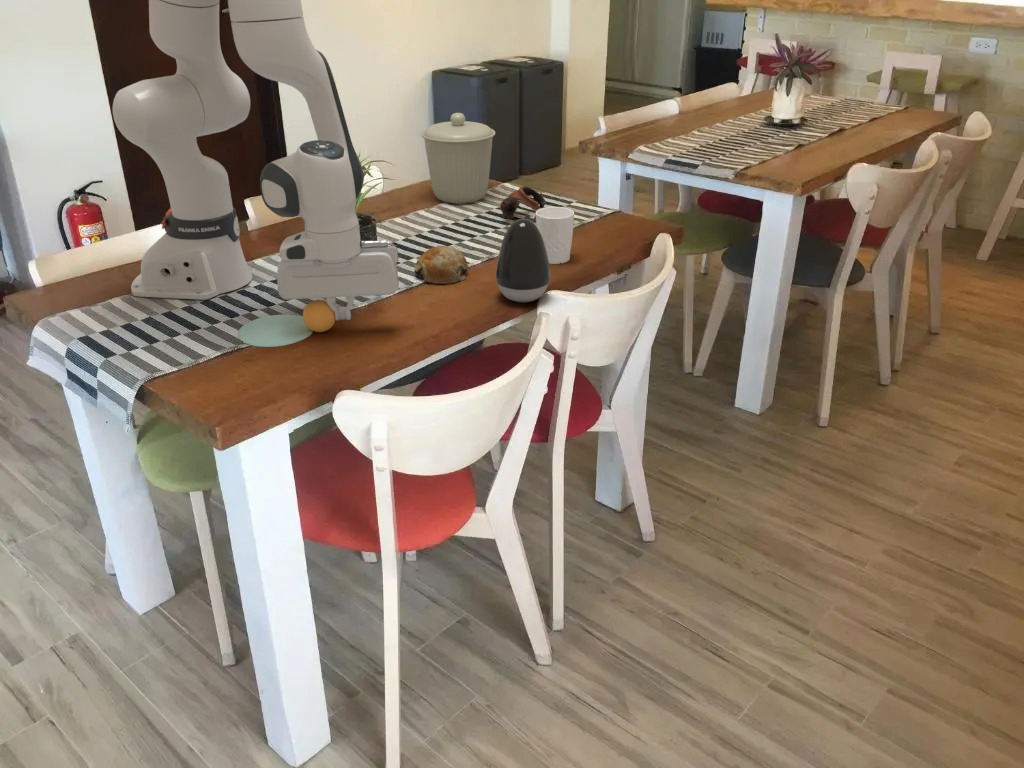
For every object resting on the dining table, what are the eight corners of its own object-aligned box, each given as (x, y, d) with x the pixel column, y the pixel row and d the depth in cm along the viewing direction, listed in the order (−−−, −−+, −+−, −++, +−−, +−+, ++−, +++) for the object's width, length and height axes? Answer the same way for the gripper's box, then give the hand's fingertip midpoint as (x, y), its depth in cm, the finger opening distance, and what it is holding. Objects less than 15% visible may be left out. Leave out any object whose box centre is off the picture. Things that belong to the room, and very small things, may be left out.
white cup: (578, 263, 182) (579, 216, 177) (541, 267, 180) (542, 220, 175) (565, 250, 188) (566, 205, 184) (530, 254, 186) (530, 208, 182)
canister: (471, 213, 212) (468, 124, 202) (410, 202, 220) (405, 115, 210) (509, 194, 225) (508, 110, 215) (450, 184, 233) (447, 102, 223)
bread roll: (451, 303, 173) (467, 270, 169) (404, 279, 172) (419, 245, 168) (463, 285, 181) (479, 252, 177) (419, 261, 181) (433, 229, 177)
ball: (321, 343, 152) (293, 325, 150) (327, 328, 156) (300, 310, 155) (338, 321, 149) (310, 302, 147) (344, 306, 154) (317, 288, 152)
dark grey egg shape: (553, 288, 170) (554, 211, 163) (546, 309, 161) (547, 229, 154) (501, 285, 171) (500, 209, 164) (491, 306, 162) (490, 226, 155)
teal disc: (230, 348, 147) (230, 347, 147) (246, 316, 158) (246, 315, 158) (309, 345, 148) (309, 344, 148) (319, 314, 159) (318, 313, 159)
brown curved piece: (513, 210, 215) (531, 183, 211) (538, 235, 212) (556, 207, 208) (483, 210, 205) (501, 181, 201) (509, 235, 202) (527, 206, 198)
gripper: (397, 233, 149) (404, 308, 156) (276, 239, 148) (287, 314, 155) (395, 245, 144) (402, 323, 150) (269, 251, 143) (281, 329, 149)
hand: (343, 318), depth 152 cm, fingers closed
